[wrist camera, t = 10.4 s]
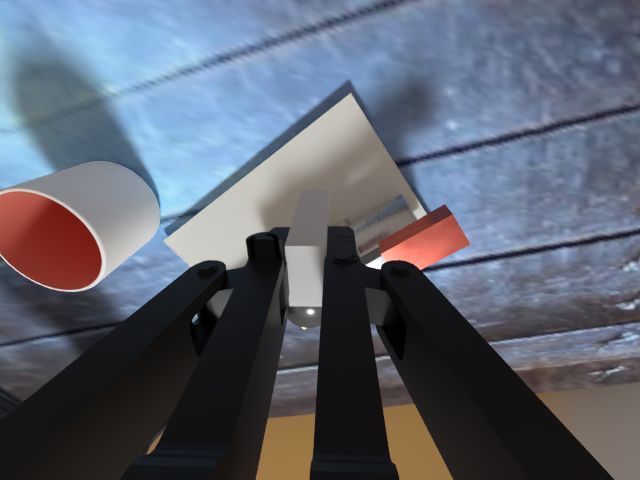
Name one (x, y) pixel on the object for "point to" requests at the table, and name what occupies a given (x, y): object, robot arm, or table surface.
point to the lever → (402, 253)
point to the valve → (380, 224)
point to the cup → (76, 224)
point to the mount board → (298, 187)
